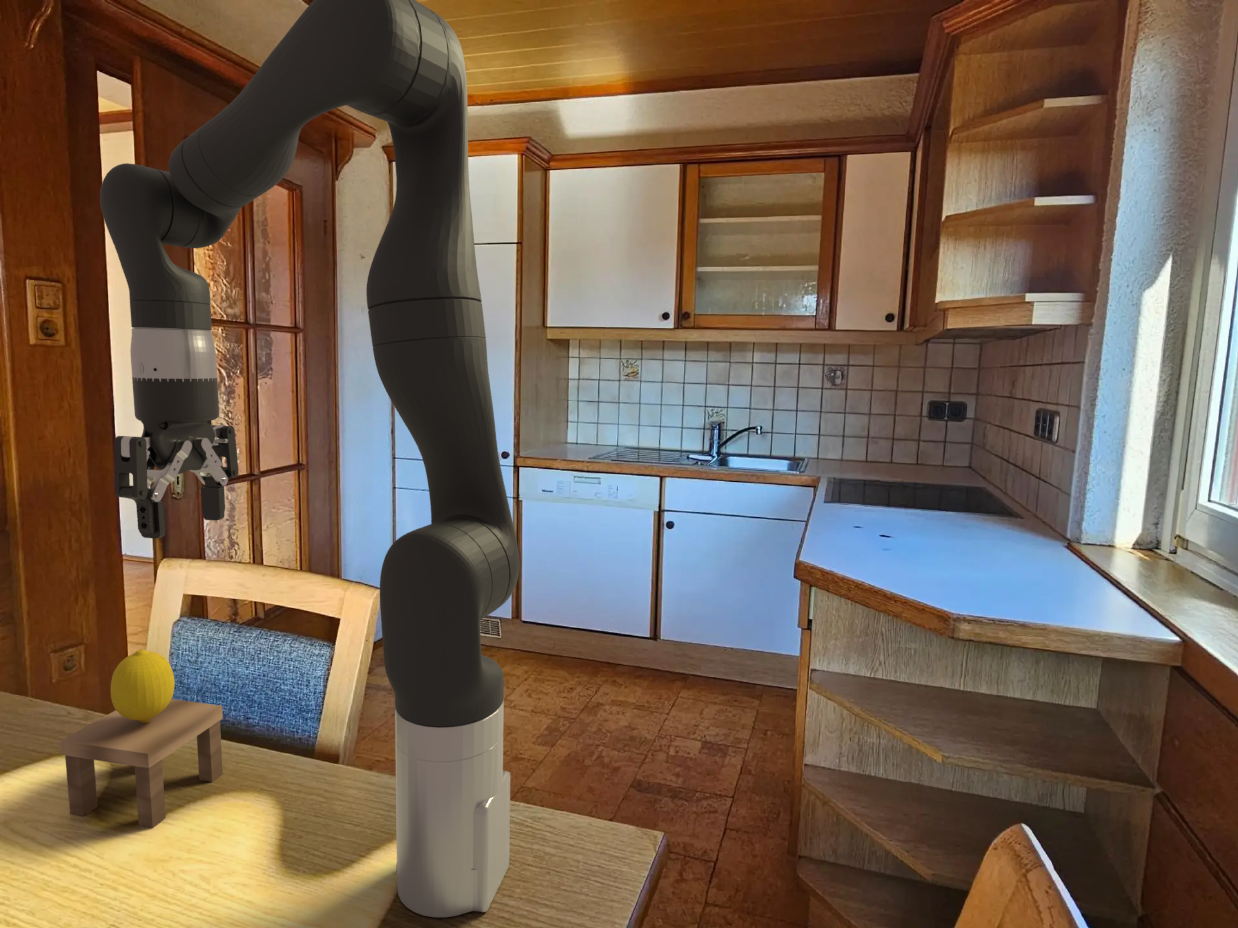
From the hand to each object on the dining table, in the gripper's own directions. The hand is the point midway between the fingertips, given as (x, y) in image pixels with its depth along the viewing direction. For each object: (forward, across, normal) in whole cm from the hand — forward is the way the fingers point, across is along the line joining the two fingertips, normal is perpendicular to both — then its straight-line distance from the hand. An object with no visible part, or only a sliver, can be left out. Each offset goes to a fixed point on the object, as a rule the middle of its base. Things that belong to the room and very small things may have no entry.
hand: (185, 527), depth 77 cm
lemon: (+20, -5, +2) cm, 21 cm away
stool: (+28, -5, +2) cm, 28 cm away
